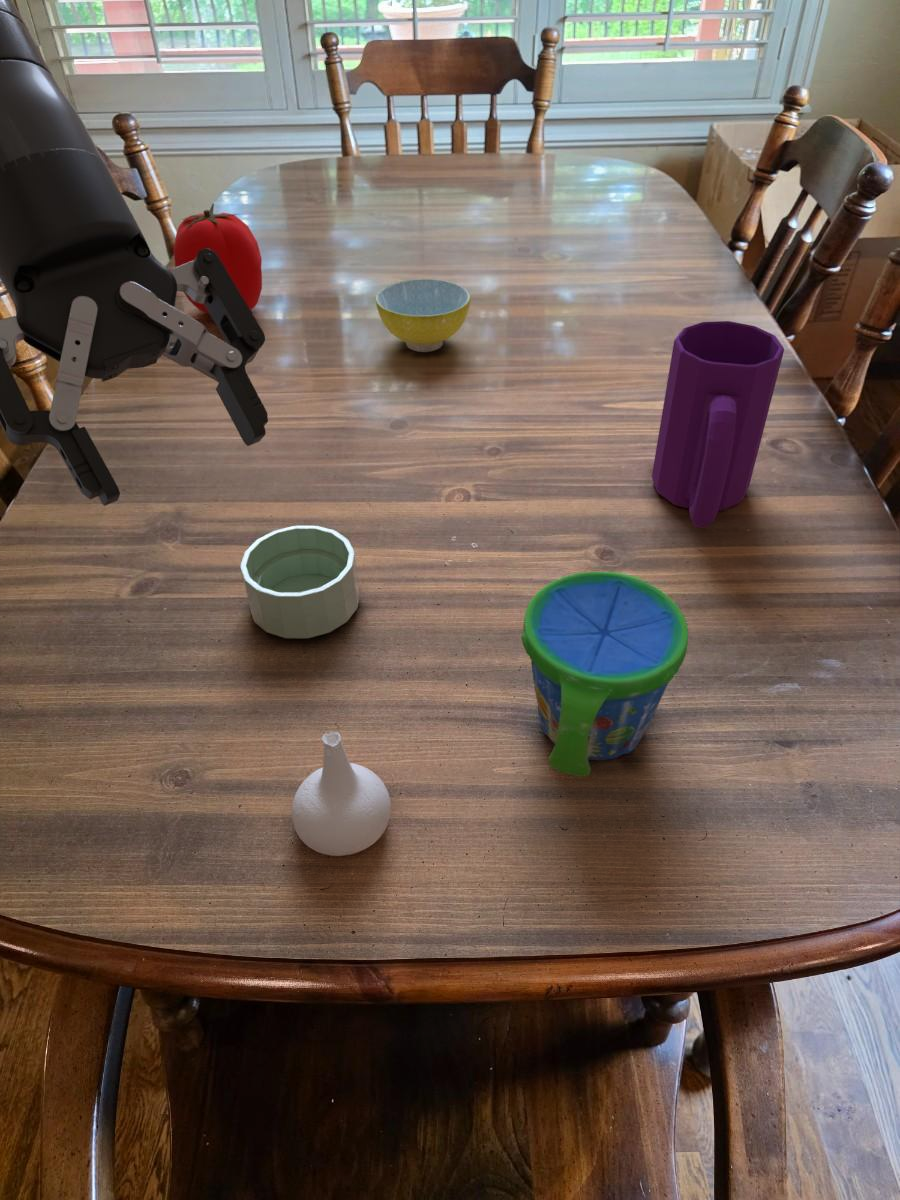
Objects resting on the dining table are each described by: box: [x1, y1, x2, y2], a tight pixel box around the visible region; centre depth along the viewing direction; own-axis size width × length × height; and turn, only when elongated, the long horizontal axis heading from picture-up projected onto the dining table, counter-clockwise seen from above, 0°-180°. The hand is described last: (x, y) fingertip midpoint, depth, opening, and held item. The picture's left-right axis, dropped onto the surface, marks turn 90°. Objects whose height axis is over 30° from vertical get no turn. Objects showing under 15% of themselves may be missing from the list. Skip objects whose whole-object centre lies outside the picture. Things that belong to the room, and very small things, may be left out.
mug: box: [651, 320, 785, 529], centre depth 77 cm, size 9×16×15 cm, turn 167°
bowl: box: [375, 278, 471, 353], centre depth 107 cm, size 11×12×6 cm
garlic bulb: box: [291, 731, 392, 857], centre depth 54 cm, size 6×6×8 cm
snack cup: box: [521, 571, 689, 777], centre depth 59 cm, size 16×10×10 cm
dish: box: [239, 524, 361, 639], centre depth 71 cm, size 9×9×5 cm
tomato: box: [173, 203, 263, 315], centre depth 113 cm, size 12×12×13 cm
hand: (188, 468), depth 47 cm, fingers open, 8 cm apart
